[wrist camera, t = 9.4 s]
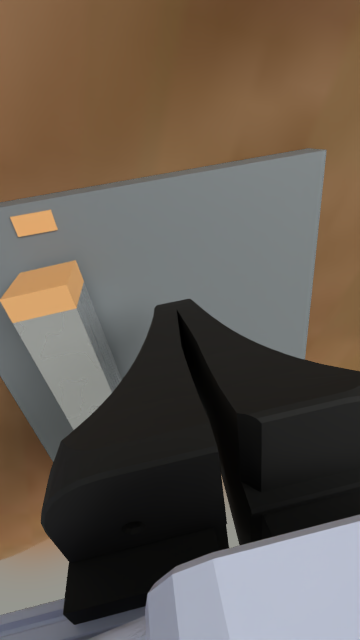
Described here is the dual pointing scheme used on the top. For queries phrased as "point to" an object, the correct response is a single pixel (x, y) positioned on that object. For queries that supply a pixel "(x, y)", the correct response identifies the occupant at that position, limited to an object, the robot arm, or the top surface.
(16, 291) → the lever
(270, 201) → the plate
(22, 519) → the top surface
